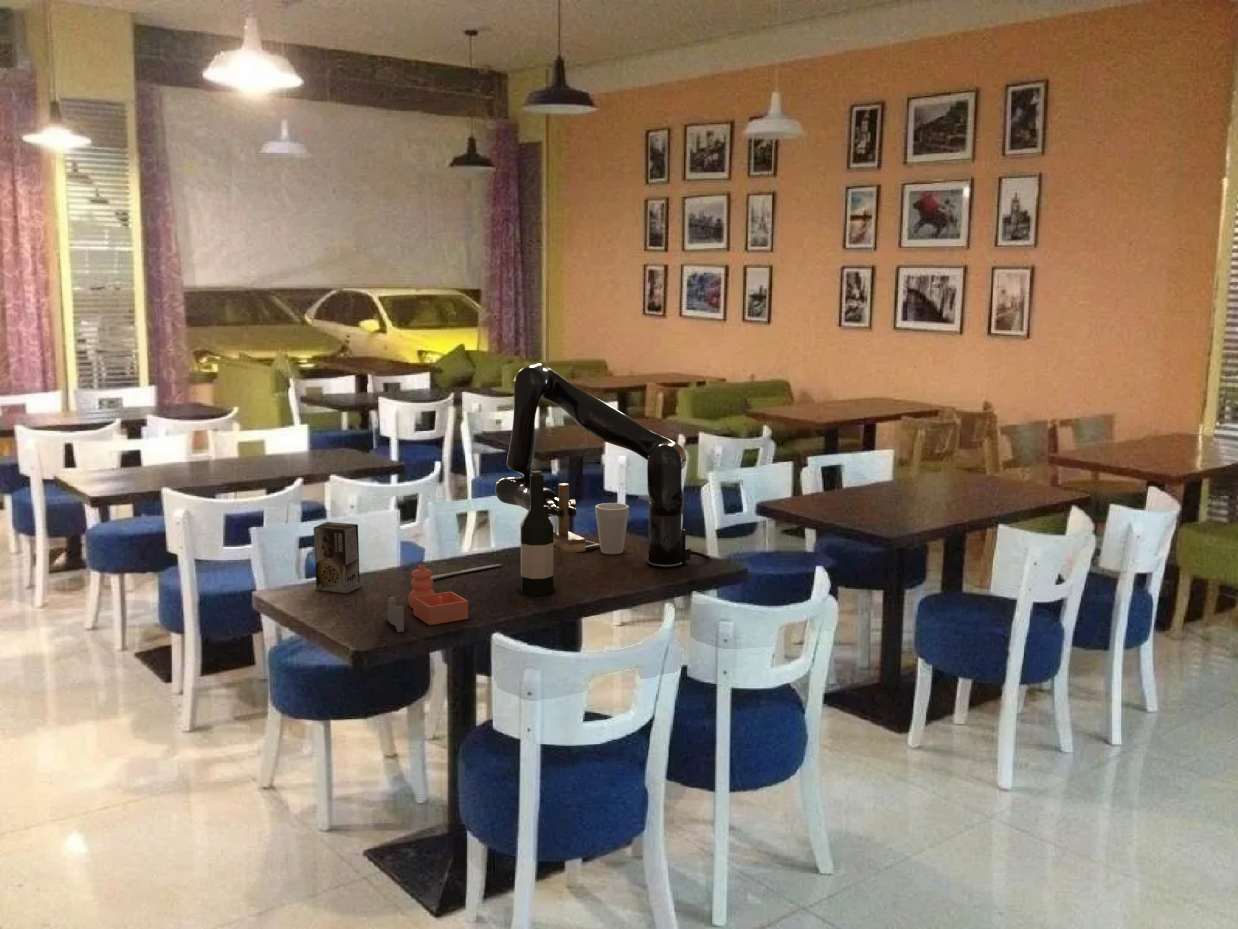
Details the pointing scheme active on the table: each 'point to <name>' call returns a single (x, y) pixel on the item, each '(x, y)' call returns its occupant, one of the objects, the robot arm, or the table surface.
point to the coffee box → (336, 557)
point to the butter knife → (461, 571)
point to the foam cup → (612, 526)
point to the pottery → (434, 600)
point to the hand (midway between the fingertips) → (568, 513)
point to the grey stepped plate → (395, 614)
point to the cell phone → (591, 545)
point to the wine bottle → (536, 543)
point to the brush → (566, 525)
